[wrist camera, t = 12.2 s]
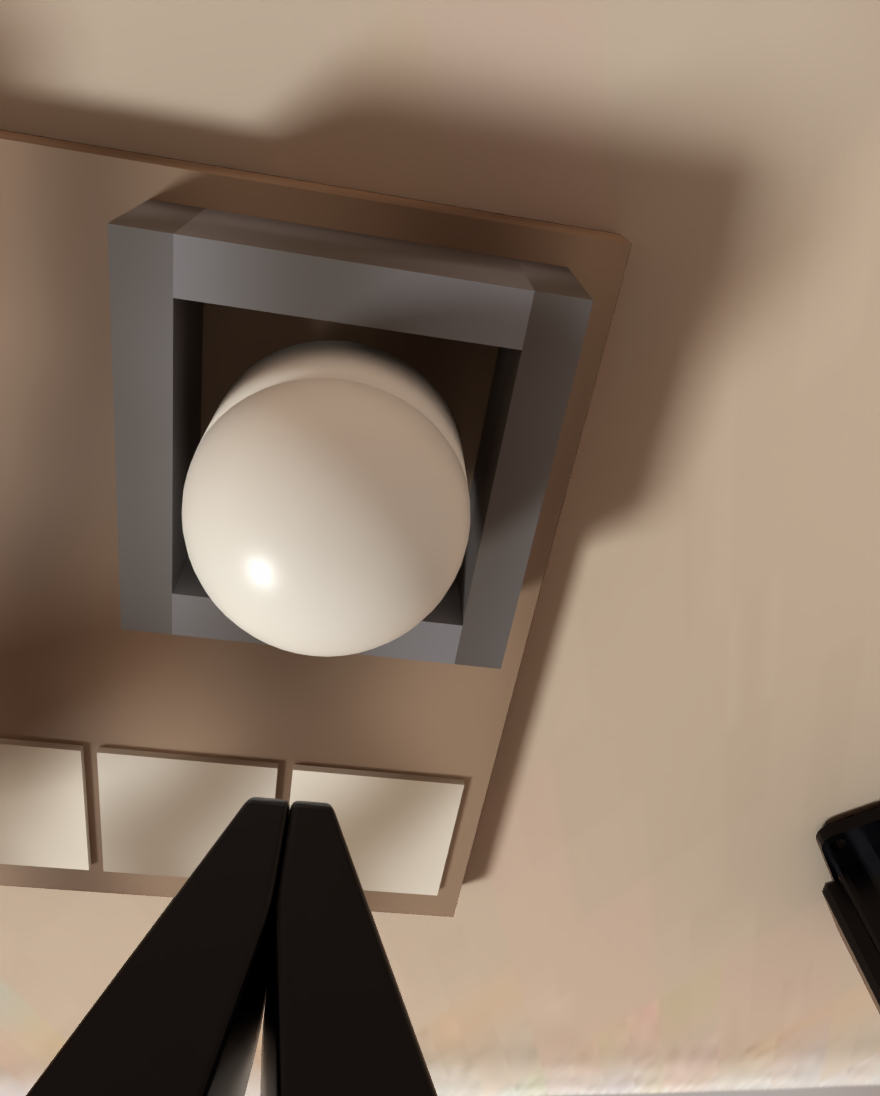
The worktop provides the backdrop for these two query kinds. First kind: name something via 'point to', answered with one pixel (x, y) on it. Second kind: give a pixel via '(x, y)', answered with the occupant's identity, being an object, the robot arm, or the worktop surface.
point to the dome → (328, 499)
